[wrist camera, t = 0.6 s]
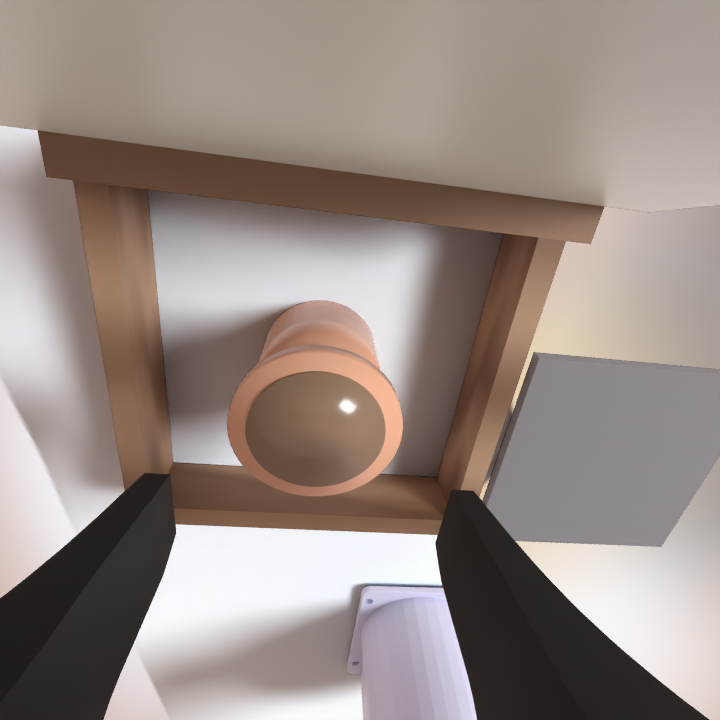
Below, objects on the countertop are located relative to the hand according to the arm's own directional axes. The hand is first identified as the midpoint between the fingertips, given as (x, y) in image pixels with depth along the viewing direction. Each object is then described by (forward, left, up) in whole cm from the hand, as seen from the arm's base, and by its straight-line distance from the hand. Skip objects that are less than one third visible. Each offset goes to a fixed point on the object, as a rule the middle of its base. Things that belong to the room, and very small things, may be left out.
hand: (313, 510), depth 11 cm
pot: (0, 0, -9) cm, 9 cm away
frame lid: (+10, 0, +5) cm, 11 cm away
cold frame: (0, 0, -9) cm, 9 cm away
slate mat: (-5, -16, -9) cm, 19 cm away
